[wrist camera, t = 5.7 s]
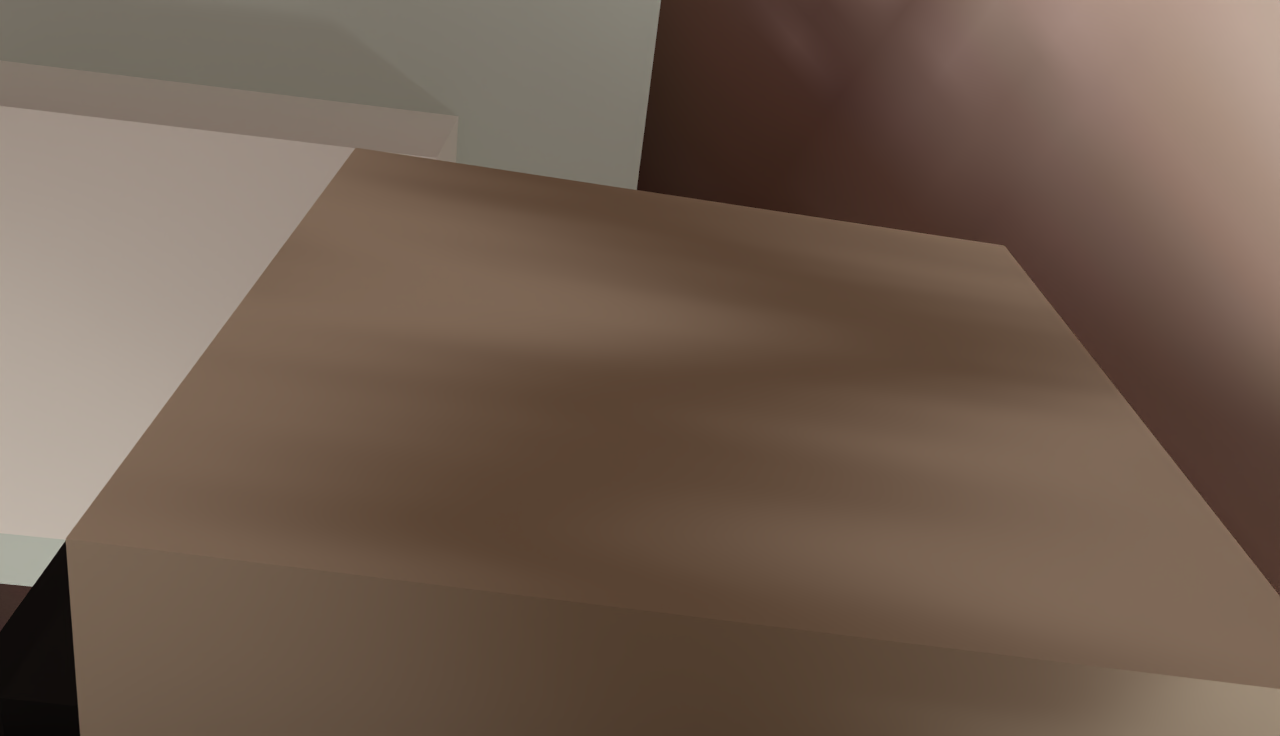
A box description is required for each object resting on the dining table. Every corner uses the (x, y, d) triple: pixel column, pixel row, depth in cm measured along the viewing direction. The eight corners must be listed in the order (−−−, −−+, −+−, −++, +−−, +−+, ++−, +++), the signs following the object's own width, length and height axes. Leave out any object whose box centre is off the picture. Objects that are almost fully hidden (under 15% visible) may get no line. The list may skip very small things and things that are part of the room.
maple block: (1004, 245, 12) (1359, 700, 6) (851, 726, 15) (992, 1345, 9) (355, 147, 11) (66, 537, 6) (329, 664, 14) (121, 1275, 8)
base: (665, -68, 25) (671, -32, 21) (582, 593, 34) (573, 719, 29) (-192, -180, 24) (-378, -167, 20) (-63, 529, 33) (-174, 649, 28)
